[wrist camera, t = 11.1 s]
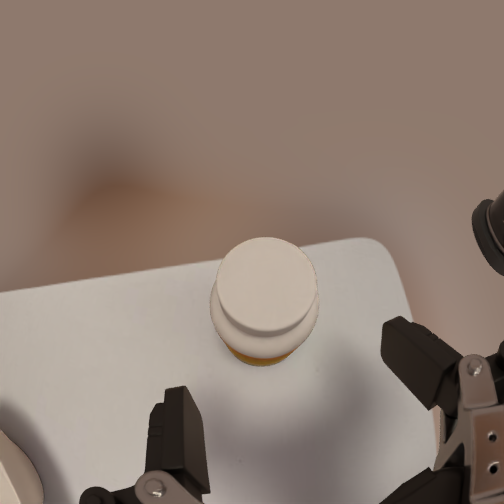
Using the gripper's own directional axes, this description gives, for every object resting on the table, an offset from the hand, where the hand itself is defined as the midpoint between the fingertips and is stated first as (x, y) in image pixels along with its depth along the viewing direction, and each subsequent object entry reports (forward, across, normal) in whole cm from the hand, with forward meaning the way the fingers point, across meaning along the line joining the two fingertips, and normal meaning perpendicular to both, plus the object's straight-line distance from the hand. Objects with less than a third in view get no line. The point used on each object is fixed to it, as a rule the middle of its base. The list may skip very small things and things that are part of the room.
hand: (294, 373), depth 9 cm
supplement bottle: (+9, 0, -4) cm, 10 cm away
